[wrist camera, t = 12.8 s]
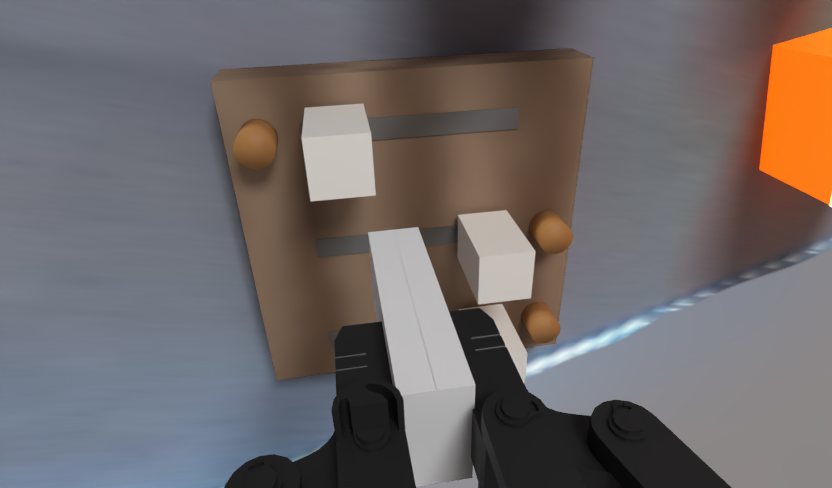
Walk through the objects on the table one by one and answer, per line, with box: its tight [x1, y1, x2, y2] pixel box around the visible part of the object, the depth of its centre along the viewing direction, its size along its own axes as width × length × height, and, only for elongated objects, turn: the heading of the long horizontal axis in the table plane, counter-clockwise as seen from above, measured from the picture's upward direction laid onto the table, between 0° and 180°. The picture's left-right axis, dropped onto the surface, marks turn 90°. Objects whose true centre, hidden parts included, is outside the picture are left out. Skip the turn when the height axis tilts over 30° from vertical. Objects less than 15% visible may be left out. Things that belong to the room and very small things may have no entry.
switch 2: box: [457, 210, 536, 305], centre depth 30 cm, size 3×3×5 cm
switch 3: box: [459, 304, 528, 383], centre depth 33 cm, size 3×3×5 cm
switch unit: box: [211, 48, 593, 380], centre depth 32 cm, size 20×20×5 cm
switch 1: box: [301, 104, 376, 201], centre depth 25 cm, size 3×3×5 cm
